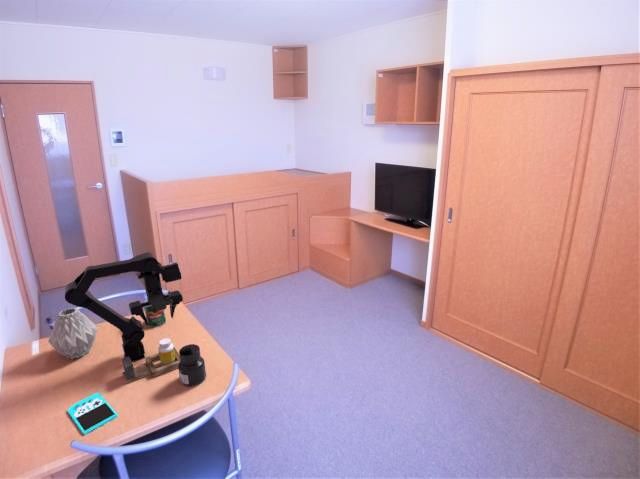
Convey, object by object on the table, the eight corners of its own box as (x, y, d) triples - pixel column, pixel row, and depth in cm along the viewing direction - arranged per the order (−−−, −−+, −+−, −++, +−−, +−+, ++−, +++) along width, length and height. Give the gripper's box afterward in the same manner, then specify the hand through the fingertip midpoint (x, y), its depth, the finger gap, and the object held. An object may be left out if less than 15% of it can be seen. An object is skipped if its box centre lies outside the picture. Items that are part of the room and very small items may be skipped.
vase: (95, 361, 146) (84, 319, 140) (46, 368, 143) (34, 325, 137) (106, 338, 161) (97, 299, 155) (63, 344, 158) (52, 304, 152)
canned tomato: (159, 316, 178) (156, 295, 174) (169, 321, 173) (166, 299, 170) (143, 324, 172) (139, 302, 168) (153, 329, 167) (149, 307, 164)
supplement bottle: (160, 361, 146) (156, 339, 143) (175, 357, 148) (171, 335, 145) (161, 369, 142) (157, 346, 138) (176, 364, 144) (173, 343, 141)
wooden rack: (127, 387, 132) (124, 371, 130) (121, 371, 140) (117, 356, 138) (184, 365, 143) (182, 350, 141) (175, 351, 151) (172, 337, 149)
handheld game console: (99, 394, 130) (98, 391, 130) (119, 417, 120) (118, 414, 120) (66, 411, 123) (65, 407, 123) (84, 437, 113) (83, 433, 113)
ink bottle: (180, 373, 139) (175, 344, 135) (205, 367, 142) (201, 339, 138) (180, 390, 131) (175, 360, 127) (207, 384, 133) (203, 355, 130)
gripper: (129, 300, 134) (137, 339, 139) (183, 286, 143) (189, 322, 148) (125, 289, 143) (133, 325, 148) (176, 276, 152) (182, 311, 157)
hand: (160, 321), depth 150 cm, fingers open, 9 cm apart
